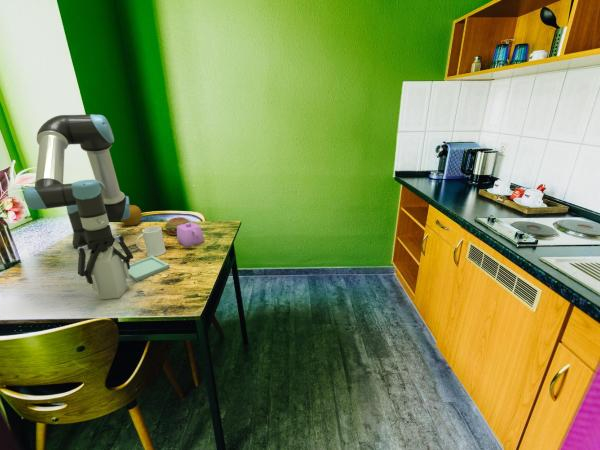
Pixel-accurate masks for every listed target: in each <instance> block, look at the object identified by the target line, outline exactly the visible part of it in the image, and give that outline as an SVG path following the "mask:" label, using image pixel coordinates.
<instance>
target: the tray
mask: <svg viewBox="0 0 600 450" xmlns="http://www.w3.org/2000/svg"><path fill="white" fill-rule="evenodd" d="M129 265H130V269H129V270H128V272H129V276H130V279H132V281H134V282H135V283H137V282H140V281H143V280H145V279H147V278H150V277H152V276H154V275H157V274H159V273H163V272H164V271H166V270H169V269H170V268H171V267H170V264H169V263H167V262H166V261H163V260H162V259H159V258H157V256H147V257H146V258H142V259H140V260H137V261H134V262H131V263H129Z"/></svg>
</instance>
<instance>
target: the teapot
mask: <svg viewBox="0 0 600 450" xmlns="http://www.w3.org/2000/svg"><path fill="white" fill-rule="evenodd" d="M176 236H177V237H176V238H177V240H178V242H179V244H181V245H182V246H184V247H186V248H190V247H193V246H197V245H199V244H203V243H204V234H203V231H202V228H201V226H200V225H199V224H197V223H195V222H192V221H191V223H186V224H180V225H179V226H177V235H176Z"/></svg>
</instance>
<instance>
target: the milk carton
mask: <svg viewBox="0 0 600 450" xmlns="http://www.w3.org/2000/svg"><path fill="white" fill-rule="evenodd" d="M113 247H114V245H112V246H110V248H111V249H110V248H109V247H108V250H107V251H106V252H103V253H102V252H100V253H99V255H98V257H97V259H96V262H95V265H94V267H93V270H92V274H94V276H95V280H96V283H97V287H98V290H99V291H98V292H96V293H97V295H98V299H99V300H107V299H120V298H121V297H122V296H123V294H124V293H125V292H126V291H127V290H128V288H129V283H128V281H127V280H128V279H127V278H126V276H125V272H124V268H123V264H122V261H123V260H122V259H121V258H120V257H119V256H118V255H117V254H115V253H114V252H113V250H114V249H113Z"/></svg>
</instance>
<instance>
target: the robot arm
mask: <svg viewBox="0 0 600 450" xmlns="http://www.w3.org/2000/svg"><path fill="white" fill-rule="evenodd" d="M36 142H37V144H38V156H37V164H36V172H35V181H34V186H29V187H25V188H24V190H23V199H24V201H25V204H26V206H27V208H29V209H30V210H48V209H55V208H62V207H66V213H67V215H68V218H69V221H70V226H71V229H72V231H73V234H72V236H73V237H72V247H73V249H75V250H77V252H78V261H77V264H78V265H77V275H78V276H80V277H82V278H83V277H85V279H86V282H87V283H88V284H89V285H91V286H92V289H93V291H94V292H95V293H97V292H98V291H99V290H98V287H97V283H96V280H95V276H94V274H92V270H93V267H94V265H95V262H96V259H97V257H98V255H99V253H100V252H102V253H103V252H106V251H107V250H108V247H109V248H110V246H113V249H114V250H113V252H114V253H115V254H117V255H118V256H119V257H120V258H121V260H122V264H123V268H124V272H125V276H126V280H129V279H131V278H130V276H129V272H128V270H129V269H130V265H129V264H130V262H131V260H132V259H134V255H133V253H132V252H131V251H130V249H129V247H128V246H127V245H126V243H125V238H124V236H122V235H121V234H118V235H116V236H113V233H112V227H111V225H110V224H109V223H110V222H116V221H121V220H123V219H128V218H129V217H130V207H129V205H130V198H129V196H127V195H125V193H124V192H122V191H121V189H120V186H119V181H118V177H117V175H116V174H117V173H116V171H115V168H114V163H113V159H112V156H111V152H110V148H111V147H113V144H112V143H114V142H115V137H114V133H113V129H112V128H111V125H110V123H109V121H108V119H107V117H105V116H104V115H102V114H92V113H91V114H61V115H60V114H59V115H56V116H53V117H51V118H50V119H48V120H46V122H44V123H43V124H42V125H41V126H40V128H39V129H38V130H37V134H36ZM69 145H79V146H80V149H81V150H83V151H85V152H86V155H87V157H88V160H89V164H90V167H91V169H92V173H93V176H94V179H83V180H82V179H81V180H78V181H74V182H72V183H64V171H65V170H64V169H65V151H66V149H67V148H68V146H69ZM115 242H117V243H118V245H119V246H120V247H121V249H122V251H123V252H124V254H125V255H124V254H123V253H121V251H119V250H118V249H117V248H116V247H114V244H115ZM110 249H111V248H110ZM88 250H90V253H89V254H90V255H89V258H88V260H87V261H88V262H87V264H86V258H87V257H86V256H87V255H86V253H87V252H88Z"/></svg>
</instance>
